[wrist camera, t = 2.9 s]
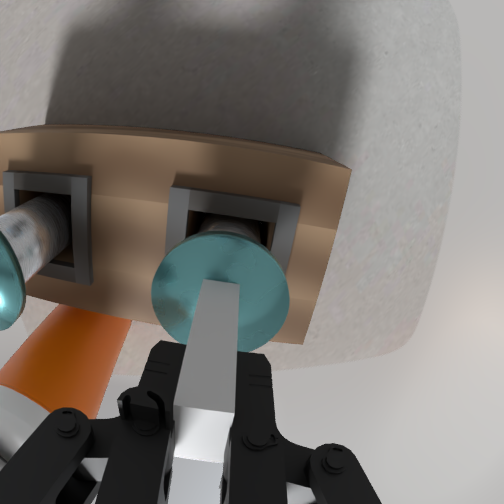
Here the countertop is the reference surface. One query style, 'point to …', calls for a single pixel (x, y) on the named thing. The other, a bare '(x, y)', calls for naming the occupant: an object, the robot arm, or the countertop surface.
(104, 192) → the socket block
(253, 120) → the countertop surface
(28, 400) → the shaker bottle
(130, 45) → the countertop surface
